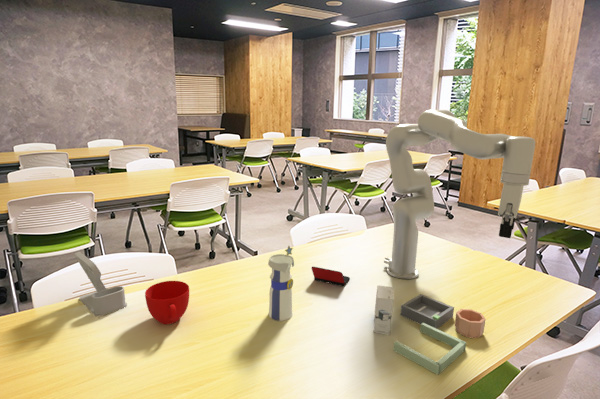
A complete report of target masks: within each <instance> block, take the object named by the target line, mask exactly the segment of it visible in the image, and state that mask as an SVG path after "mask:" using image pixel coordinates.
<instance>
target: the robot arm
mask: <svg viewBox="0 0 600 399" xmlns="http://www.w3.org/2000/svg"><path fill="white" fill-rule="evenodd" d="M467 127H468V125H467V122H466V121H465V120H464V119H461V118H459V117H457V116H455V114H454V113H453V112H452V111H450V110H448V109H428V110H425V111H423V112H421V114H420V115H419V116H418V118H417V123H403V124H398V125H395V126H394V127H392V128H391V129H390V130H389V131H388V133H387V135H386V138H385V147H386V152H387V156H388V159H389V163H390V164H389V165H390V172H391V178H392V185H393V186H392V187H393V189H394V192H396V194H398V195H408V194H409V195H410V194H412V196H409V197H403V198H401V199H398V200H397V201H396V202H395V203H394V204H393V208H392V218H393V235H392V236H393V237H392V251H391V258H390V257H389V256H385V257H384V260H383V263H385V264H387V265H388V266H387V268H386V272H387V274H388V275H389V276H391V277H393V278H396V279H402V280H411V279H416V278H418V277H419V273H420V272H419V270H418V269H417V268H416V263H417V252H418V251H417V250H418V243H419V242H418V240H419V230H418V226H417V223H416V222H417V221H420V220H425V219H428V218H430V217H431V216H432V215H433V213H434V212H435V201H434V193H433V186H432V181H431V177H430V176H429V174H428V172H427V171H426V170H424V169H422V168H414V164H413V159H412V156H411V154H410V151H408V149H407V147H422V146H426V145H428V144H430V143H432V142H434V141H436V140H442V141H444V142H447V143H448V144H450V145H451V146H452V147H453V148H454V149H455V150H456V151H458V152H460V153H462V154H465V155H467V156H469V157H472V158H474V159H478V160H491V159H503V160H502V168H501V174H500V181H499V182H500V183H501V184H503V185H502V190H501V194H500V200H499V206H498V212H497V215H498V216H499V217H501V216H502V218H501V223H500V224H499V231H498V237H500V238H506V239H511V238H512V234H513V233H512V232H513V230H514V228H515V223H516V217H517V215H518V212H519V209H520V206H521V203H522V202H521V201H522V196H523V191H524V186H529V184H530V179H531V178H530V176H531V172H532V166H533V160H534V156H535V149H536V140H535V138H533V137H531V136H517V135H516V136H514V135H511V134H510V135H509V134H505V133H486V134H485V133H480V132H479V131H478V132H477V131H475V130H472V129H469V128H467Z"/></svg>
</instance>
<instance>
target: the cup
mask: <svg viewBox="0 0 600 399" xmlns="http://www.w3.org/2000/svg"><path fill="white" fill-rule="evenodd" d="M485 324H486V317H485V316H484V315H483V314H482V312H479V311H477V310H474V309H472V308H471V309H470V308H468V309H467V308H460V309H459V310H458V311H456V312H455V321H454V327H455V328H454V329H455V331H456V332H457V334H459V335H460V336H463V337H466V338H469V339H479V338H481V337H482V336H483V333H484V332H485V327H486V326H485Z"/></svg>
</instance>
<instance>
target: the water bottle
mask: <svg viewBox="0 0 600 399" xmlns="http://www.w3.org/2000/svg"><path fill="white" fill-rule="evenodd" d="M293 249H294V247H290V245H287V248H286V249H285V250H284V252H286V254H284V253H281V254H279V253H278V254H273V255H271V256H270V257H269V259H268V264H267V265H268V266H269V267H270V268H271V273H270V275H269V279H270V287H269V300H268V301H269V306H268V307H269V308H268V317H269V318H270V319H272V320H274V321H287V320H289V319H291V318H292V316H293V289H292V287H293V285H294V279H293V275H292V274H291V271H290V270H291V267H292V268H294V266H295V261H294V257H293V256H291V255H292V254H293V253H292V250H293Z"/></svg>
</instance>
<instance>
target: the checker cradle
mask: <svg viewBox="0 0 600 399" xmlns="http://www.w3.org/2000/svg"><path fill="white" fill-rule="evenodd" d="M454 310H455V306H451V305H449V304H446V303H445V302H442V301H439V300H436V299H434V298H432V297H429V296H427V295H424V294H421V293H420V294H418V295H416V296H414V297H413V298H411V299H410V300H408V301H406V302H405V303H402V304H401V305H400V316H402V317H404V318H405V319H408V320H410V321H411V322H415V323H416V324H419V325H421V324H422V323H425V324H427V325H429V326H432V327H434V328H436V329H439V328H440V327H442V326H443V325H445V324H446V323H447V322H448V321H450V320H451V319H452V318H454Z"/></svg>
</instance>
